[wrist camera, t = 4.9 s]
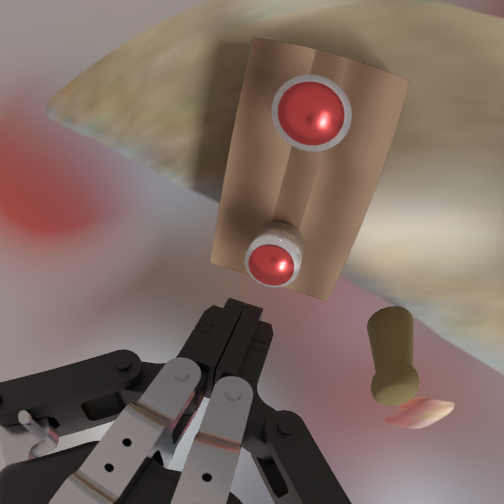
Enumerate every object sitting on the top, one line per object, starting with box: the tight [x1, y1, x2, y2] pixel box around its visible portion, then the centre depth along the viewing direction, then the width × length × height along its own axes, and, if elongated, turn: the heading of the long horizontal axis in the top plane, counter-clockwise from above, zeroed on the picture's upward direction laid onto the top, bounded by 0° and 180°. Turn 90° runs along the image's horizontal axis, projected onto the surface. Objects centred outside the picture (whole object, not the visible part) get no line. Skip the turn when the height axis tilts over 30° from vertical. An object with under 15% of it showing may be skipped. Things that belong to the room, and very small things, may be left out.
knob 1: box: [245, 222, 305, 287], centre depth 26 cm, size 4×4×7 cm
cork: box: [367, 307, 419, 406], centre depth 29 cm, size 6×6×11 cm
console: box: [211, 37, 410, 301], centre depth 25 cm, size 12×21×5 cm, turn 168°
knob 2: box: [272, 75, 352, 152], centre depth 17 cm, size 4×4×7 cm
